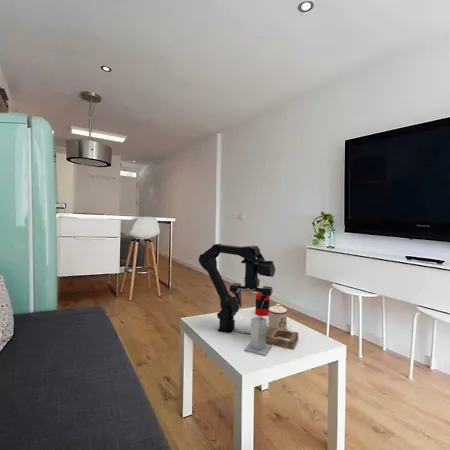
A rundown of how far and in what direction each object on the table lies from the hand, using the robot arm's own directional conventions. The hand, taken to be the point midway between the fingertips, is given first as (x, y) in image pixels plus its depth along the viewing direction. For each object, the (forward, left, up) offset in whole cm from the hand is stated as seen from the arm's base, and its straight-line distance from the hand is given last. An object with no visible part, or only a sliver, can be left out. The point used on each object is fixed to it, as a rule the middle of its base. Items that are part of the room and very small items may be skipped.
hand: (250, 307), depth 130 cm
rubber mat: (+6, -11, -13) cm, 18 cm away
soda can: (0, +31, -13) cm, 34 cm away
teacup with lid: (+11, +16, -13) cm, 23 cm away
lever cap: (+6, -11, -12) cm, 17 cm away
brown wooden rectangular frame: (+13, 0, -13) cm, 19 cm away
